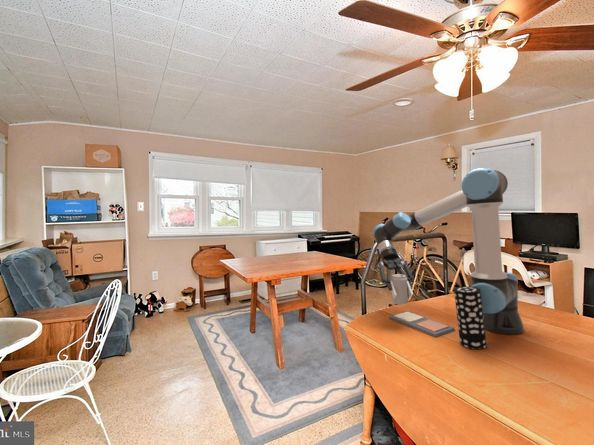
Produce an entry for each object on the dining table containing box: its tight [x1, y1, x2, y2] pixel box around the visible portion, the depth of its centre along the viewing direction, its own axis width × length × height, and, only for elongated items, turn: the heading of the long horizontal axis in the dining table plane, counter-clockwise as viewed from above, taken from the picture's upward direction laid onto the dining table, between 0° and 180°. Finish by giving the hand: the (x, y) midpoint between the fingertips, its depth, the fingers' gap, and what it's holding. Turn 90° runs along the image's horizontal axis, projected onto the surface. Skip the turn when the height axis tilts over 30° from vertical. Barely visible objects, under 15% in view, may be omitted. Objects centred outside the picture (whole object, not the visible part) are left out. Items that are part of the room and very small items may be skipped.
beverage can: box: [390, 273, 409, 305], centre depth 123 cm, size 6×6×12 cm
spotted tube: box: [453, 286, 488, 350], centre depth 104 cm, size 8×8×20 cm
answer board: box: [388, 310, 456, 338], centre depth 125 cm, size 24×12×2 cm, turn 28°
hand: (403, 296), depth 120 cm, fingers closed on beverage can, 6 cm apart
